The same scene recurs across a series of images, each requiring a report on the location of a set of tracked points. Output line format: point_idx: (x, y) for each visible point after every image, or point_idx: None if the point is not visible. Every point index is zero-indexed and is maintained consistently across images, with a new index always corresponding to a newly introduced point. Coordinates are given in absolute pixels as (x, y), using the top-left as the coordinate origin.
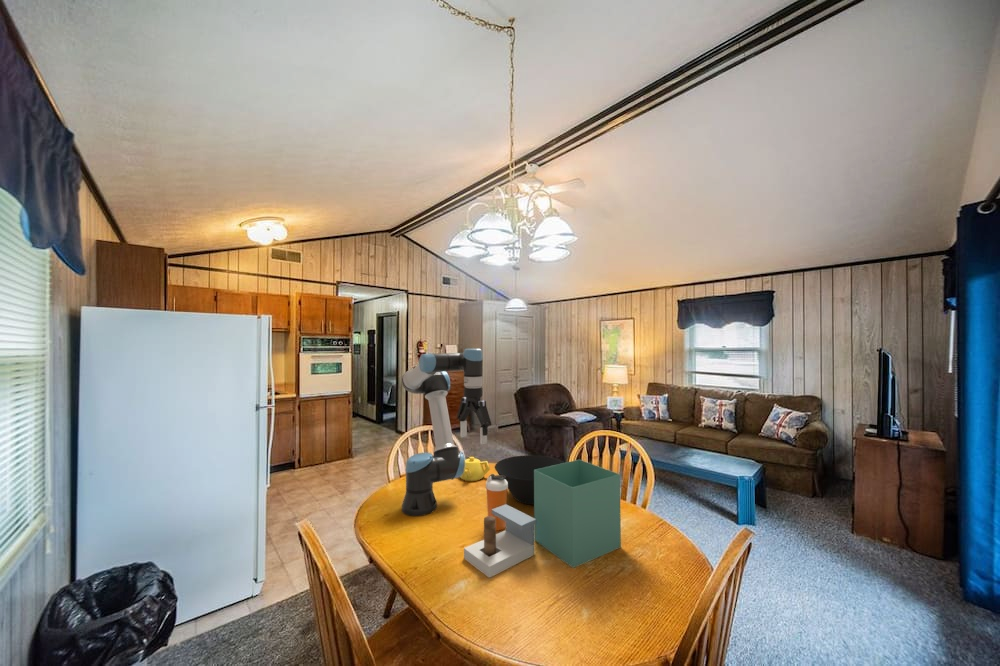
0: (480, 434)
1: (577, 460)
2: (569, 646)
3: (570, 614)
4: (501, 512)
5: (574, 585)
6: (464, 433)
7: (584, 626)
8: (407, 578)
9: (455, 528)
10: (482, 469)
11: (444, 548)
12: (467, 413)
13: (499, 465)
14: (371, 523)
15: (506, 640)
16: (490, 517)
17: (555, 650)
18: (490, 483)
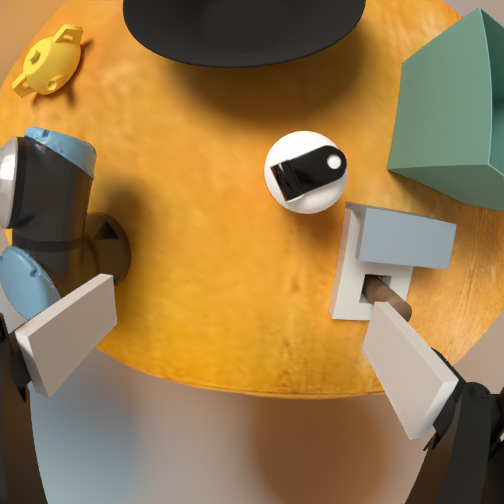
0: (387, 392)
1: (480, 13)
2: (489, 317)
3: (484, 285)
4: (387, 254)
5: (477, 239)
6: (101, 309)
7: (495, 288)
8: (297, 389)
9: (226, 251)
10: (69, 43)
11: (275, 314)
12: (16, 450)
13: (136, 23)
14: (107, 343)
15: (448, 356)
16: (397, 310)
17: (481, 330)
18: (309, 208)
